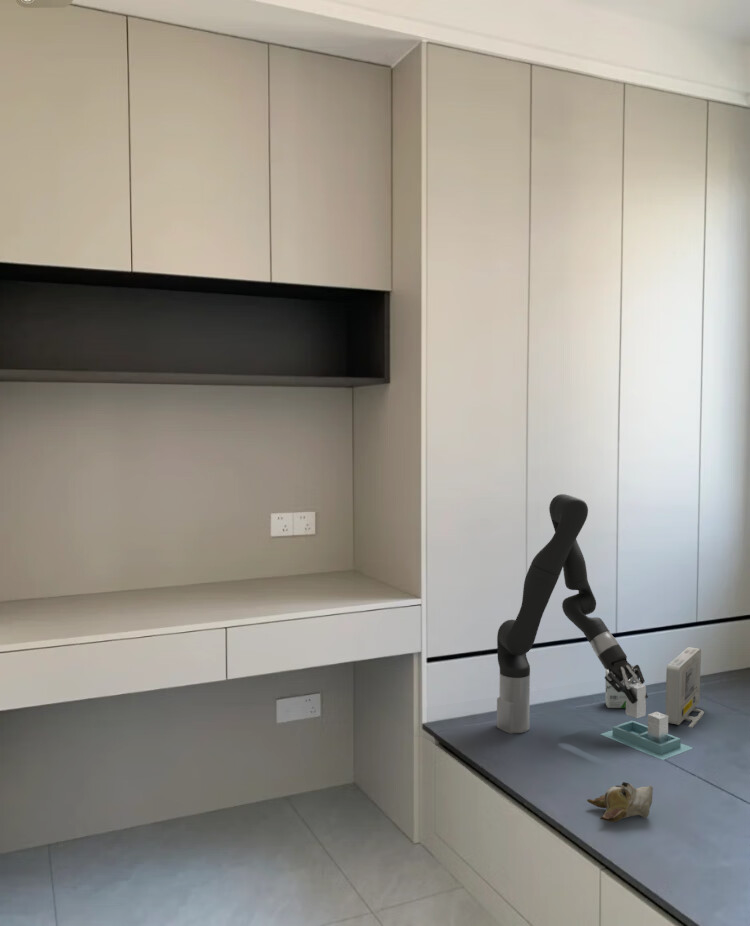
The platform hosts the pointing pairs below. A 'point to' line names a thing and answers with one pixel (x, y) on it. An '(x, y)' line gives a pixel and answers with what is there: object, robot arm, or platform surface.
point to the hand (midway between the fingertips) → (640, 700)
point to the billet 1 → (640, 706)
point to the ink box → (614, 696)
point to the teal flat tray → (645, 740)
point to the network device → (683, 687)
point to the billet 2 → (657, 727)
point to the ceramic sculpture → (624, 802)
